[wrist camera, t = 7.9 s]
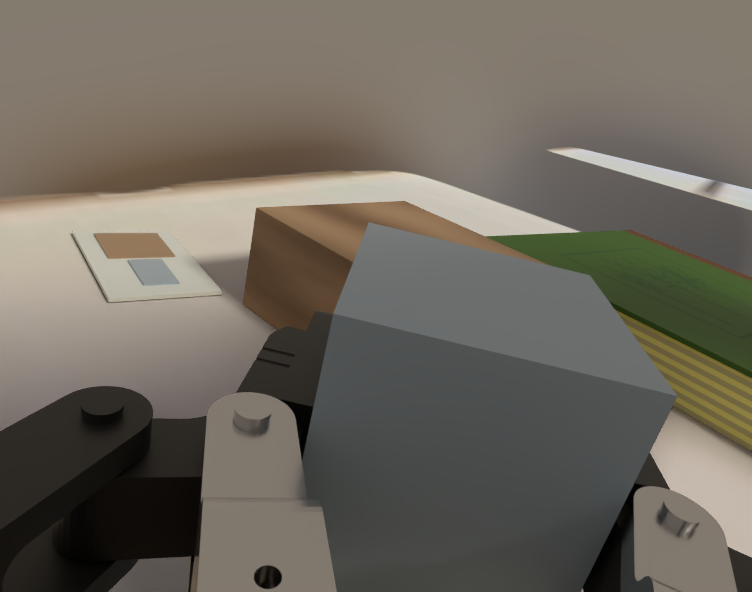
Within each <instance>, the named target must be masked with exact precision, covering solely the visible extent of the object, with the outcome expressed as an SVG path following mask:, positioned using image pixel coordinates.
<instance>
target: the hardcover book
mask: <svg viewBox="0 0 752 592" xmlns="http://www.w3.org/2000/svg"><path fill="white" fill-rule="evenodd" d="M486 237H487V238H489V239H491V240H494V241H496V242H498V243H500V244H503V245H505V246H507V247H509V248H512V249H514V250H516V251H519V252H521V253H523V254H525V255H528V256H530V257H532V258H534V259H537V260H539V261H541V262H543V263H546V264H548V265H550V266H553V267H558V268H562V269H566V270H570V271H574V272H579V273H583V274H587V275H590V276H591V278H592V279H593V280H594V282H595V283H596V284H597V286H598V287H599V289H600V290H601V291H602V293H603V294H604V295H605V297H606V298H607V300H608V301H609V302H610V304H611V305H612V306H613V308H614V309H615V311H616V312H617V313H618V315H619V316H620V317H621V319H622V320H623V322H624V323H625V324H626V326H627V327H628V328H629V330H630V331H631V333H632V334H633V335H634V337H635V338H636V339H637V341H638V342H639V344H640V345H641V346H642V348H643V349H644V350H645V352H646V353H647V355H648V356H649V357H650V359H651V360H652V361H653V363H654V364H655V366H656V367H657V368H658V370H659V371H660V372H661V374H662V375H663V377H664V378H665V379H666V381H667V382H668V383H669V385H670V386H671V388H672V389H673V390H674V392H675V393H676V394H677V398H676V400H675V402H674V404H673V406H674V407H676V408H678V409H680V410H681V411H683V412H685V413H686V414H688V415H690V416H692V417H693V418H695V419H697V420H698V421H700V422H702V423H704V424H705V425H707V426H709V427H710V428H712V429H714V430H716V431H717V432H719V433H721V434H722V435H724V436H726V437H728V438H729V439H731V440H733V441H734V442H736V443H738V444H740V445H741V446H743V447H745V448H746V449H748V450H750V451H752V277H749V276H746V275H744V274H741V273H739V272H736V271H734V270H731V269H729V268H726V267H724V266H721V265H719V264H716V263H714V262H711V261H708V260H706V259H703V258H701V257H698V256H696V255H693V254H690V253H688V252H685V251H683V250H680V249H678V248H675V247H673V246H670V245H667V244H665V243H662V242H660V241H657V240H654V239H652V238H650V237H647V236H645V235H642V234H640V233H637V232H634V231H632V230H624V231H600V232H577V233H554V234H532V235H509V236H486Z"/></svg>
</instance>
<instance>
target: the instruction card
mask: <svg viewBox="0 0 752 592" xmlns="http://www.w3.org/2000/svg"><path fill="white" fill-rule="evenodd" d="M72 235H73V237H74V238H75V240H76V242H77V244H78V246H79V248H80V250H81V252H82V253H83V255H84V257H85V259H86V261H87V263H88V265H89V267H90V269H91V270H92V272H93V274H94V276H95V278H96V280H97V282H98V284H99V285H100V287H101V289H102V291H103V293H104V295H105V297H106V299H107V300H108V302H121V301H136V300H151V299H166V298H181V297H196V296H211V295H222V290H221V289H220V288H219V287H218V286H217V285H216V283H215V282H214V281H213V280H212V279H211V278H210V276H209V275H208V274H207V273H206V272H205V271H204V270H203V268H202V267H201V266H200V265H199V264H198V263H197V262H196V260H195V259H194V258H193V257H192V256H191V255H190V253H189V252H188V251H187V250H186V249H185V248H184V247H183V245H182V244H181V243H180V242H179V241H178V240H177V239H176V237H175V236H174V235H173V234H172V233H171V232H170V231H72Z"/></svg>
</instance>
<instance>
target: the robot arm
mask: <svg viewBox="0 0 752 592" xmlns="http://www.w3.org/2000/svg"><path fill="white" fill-rule="evenodd" d="M332 317H333V314H332V313H328V312H323V311H319V310H316V311H315V312H314V315H313V317H312V319H311V321H310V323H309V326H308V328H307V330H302V329H297V328H293V327H289V326H285V327H283V328H281V329H279V330H278V331H276V332H274V333H272V334H270V336H269V337H268V339H267V341H266V342H265V344H264V346H263V348H262V350H261V351H260V353H259V354H258V356H257V359H256V360H255V361H254V363H253V365H252V366H251V368H250V370H249V372H248V373H247V375H246V377H245V378H244V380H243V382H242V384H241V385H240V387H239V389H238V390H237V392H236V393H234V394H229V395H226V396H224V397H222V398H220V399H218V400H216V401H215V402H214V403H213V404H212V405H211V406H210V408H209V410H208V413H207V416H204V417H199V418H192V419H153V418H152V417H153V409H152V406H151V404H150V402H149V401H148V400H147V399H146V398H145V397H144V396H143V395H141V394H139V393H137V392H135V391H132V390H130V389H126V388H121V387H113V386H99V387H91V388H86V389H81V390H78V391H75V392H73V393H70V394H68V395H66V396H64V397H62V398H61V399H59V400H57V401H55V402H53V403H51V404H50V405H48V406H46V407H44V408H42V409H40V410H39V411H37V412H35V413H33V414H31V415H29V416H27V417H26V418H24V419H22V420H20V421H18V422H16V423H15V424H13V425H11V426H9V427H7V428H5V429H4V430H2V431H0V592H108V591H109V590H110V589H111V588H112V587H113V586H114V585H115V584H116V583H117V582H118V581H119V580H120V579H121V578H122V577H123V576H125V575H126V574H127V573H128V572H129V571H130V570H131V569H132V567H133V566H134V565H135V564H136V563H137V561H138V559H149V558H168V557H188V556H190V564H189V576H188V588H187V592H337V590H336V584H335V579H334V573H333V567H332V561H331V556H330V550H329V544H328V539H327V533H326V527H325V521H324V516H323V510H322V506H321V503H320V501H319V499H318V498H307V493H306V486H305V479H304V472H303V466H302V459H303V454H304V450H305V445H306V440H307V436H308V431H309V426H310V421H311V417H312V412H313V407H314V402H315V398H316V393H317V388H318V383H319V379H320V374H321V369H322V365H323V360H324V355H325V350H326V346H327V341H328V336H329V331H330V327H331V322H332ZM583 590H584V592H752V558H751V557H749V556H747V555H744V554H742V553H740V552H738V551H735V550H733V549H731V548H729V547H727V543H726V538H725V535H724V532H723V530H722V528H721V527H720V525H719V524H718V522H717V521H716V520H715V519H714V518H713V517H712V516H711V515H710V514H709V513H708V512H707V511H706V510H705V509H704V508H702V507H701V506H700V505H698V504H697V503H695V502H694V501H692V500H691V499H689V498H687V497H685V496H683V495H681V494H679V493H677V492H674V491H672V490H670V489H669V487H668V485H667V483H666V481H665V479H664V478H663V476H662V474H661V472H660V470H659V469H658V467H657V465H656V463H655V461H654V459H653V458H652V456H651V454H650V453H649V454H648V456H647V458H646V461H645V463H644V465H643V467H642V469H641V471H640V473H639V475H638V477H637V479H636V481H635V483H634V485H633V487H632V489H631V491H630V493H629V495H628V497H627V499H626V501H625V503H624V505H623V507H622V509H621V511H620V513H619V515H618V517H617V519H616V521H615V523H614V525H613V527H612V529H611V531H610V533H609V535H608V537H607V539H606V541H605V543H604V545H603V547H602V549H601V551H600V553H599V555H598V557H597V559H596V561H595V563H594V565H593V567H592V569H591V571H590V573H589V575H588V577H587V579H586V581H585V583H584V585H583Z"/></svg>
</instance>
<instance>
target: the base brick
mask: <svg viewBox="0 0 752 592" xmlns="http://www.w3.org/2000/svg"><path fill="white" fill-rule="evenodd" d="M369 222H370V223H374V224H378V225H382V226H387V227H391V228H395V229H399V230H403V231H407V232H412V233H416V234H420V235H424V236H428V237H432V238H437V239H441V240H445V241H449V242H453V243H458V244H462V245H466V246H470V247H474V248H478V249H483V250H487V251H491V252H495V253H499V254H503V255H508V256H512V257H516V258H520V259H524V260H528V261H533V262H537V263H541V264H545V265H548V264H546V263H543V262H541V261H539V260H537V259H534V258H532V257H530V256H528V255H525V254H523V253H521V252H519V251H516V250H514V249H512V248H509V247H507V246H505V245H503V244H500V243H498V242H496V241H494V240H491V239H489V238H487V237H485V236H482V235H480V234H478V233H476V232H473V231H471V230H469V229H467V228H464V227H462V226H460V225H457V224H455V223H453V222H451V221H448V220H446V219H444V218H442V217H439V216H437V215H435V214H433V213H430V212H428V211H426V210H424V209H421V208H419V207H417V206H415V205H412V204H410V203H408V202H405V201H397V202H374V203H351V204H328V205H306V206H283V207H260V208H256V214H255V221H254V228H253V236H252V243H251V250H250V257H249V264H248V271H247V278H246V285H245V292H244V300H243V305H245V306H246V307H247V308H249V309H250V310H251V311H253V312H254V313H255V314H257V315H258V316H259V317H261V318H262V319H263V320H265V321H266V322H267V323H269V324H270V325H271V326H273V327H274V328H275V329H277V330H279V329H281V328H283V327H285V326H289V327H293V328H297V329H302V330H307V328H308V326H309V323H310V321H311V319H312V317H313V315H314V312H315V311H316V310H319V311H323V312H328V313H332V314H333V313H334V310H335V308H336V305H337V303H338V300H339V298H340V295H341V292H342V290H343V287H344V285H345V282H346V280H347V277H348V274H349V272H350V269H351V267H352V264H353V262H354V259H355V256H356V254H357V251H358V249H359V246H360V244H361V241H362V238H363V236H364V233H365V231H366V228H367V226H368V223H369ZM549 266H550V265H549Z"/></svg>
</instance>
